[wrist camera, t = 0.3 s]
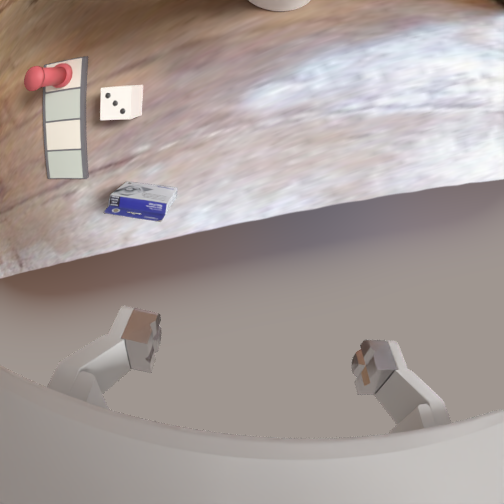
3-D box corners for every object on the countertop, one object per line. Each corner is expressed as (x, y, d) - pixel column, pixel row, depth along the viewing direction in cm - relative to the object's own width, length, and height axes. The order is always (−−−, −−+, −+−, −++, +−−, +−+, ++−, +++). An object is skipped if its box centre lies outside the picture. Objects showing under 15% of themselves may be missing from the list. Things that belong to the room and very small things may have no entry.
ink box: (178, 186, 57) (163, 210, 47) (177, 197, 58) (163, 223, 49) (125, 179, 56) (101, 201, 46) (124, 190, 57) (102, 213, 47)
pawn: (53, 65, 40) (23, 67, 32) (73, 61, 41) (44, 62, 32) (52, 89, 43) (22, 94, 34) (71, 85, 43) (43, 90, 35)
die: (114, 86, 46) (100, 88, 40) (143, 84, 46) (131, 85, 41) (113, 116, 49) (99, 120, 44) (141, 115, 49) (130, 119, 44)
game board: (46, 64, 41) (43, 65, 40) (88, 56, 41) (85, 56, 40) (50, 177, 54) (47, 179, 53) (88, 177, 55) (86, 179, 54)
